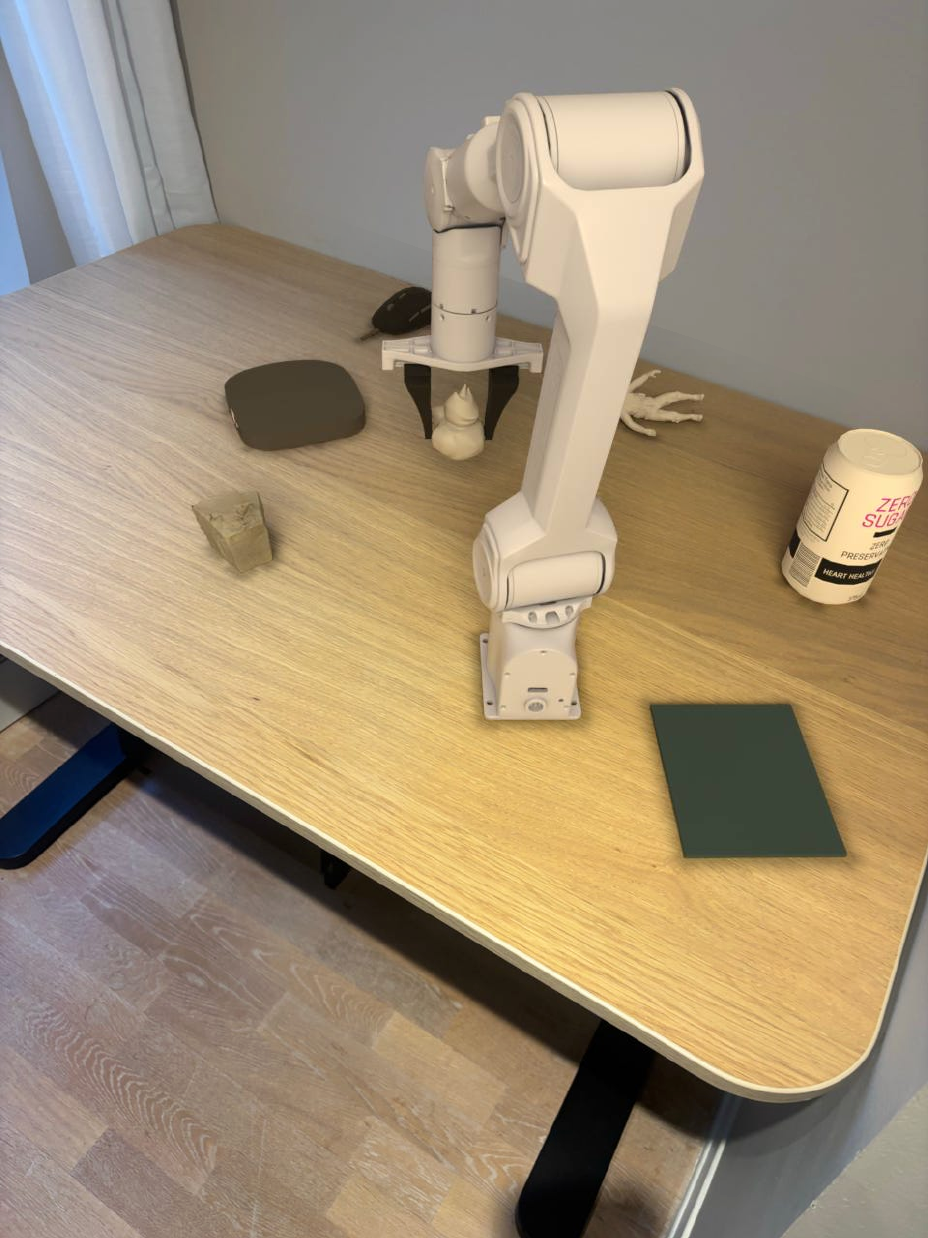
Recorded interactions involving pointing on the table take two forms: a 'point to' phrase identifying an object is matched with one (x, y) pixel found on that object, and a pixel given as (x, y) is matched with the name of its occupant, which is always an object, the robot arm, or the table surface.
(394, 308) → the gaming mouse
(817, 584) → the supplement can
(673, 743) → the mat
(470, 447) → the cream rounded figure
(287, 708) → the table surface
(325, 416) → the media streaming box
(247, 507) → the mineral specimen
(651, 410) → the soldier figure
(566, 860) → the table surface
